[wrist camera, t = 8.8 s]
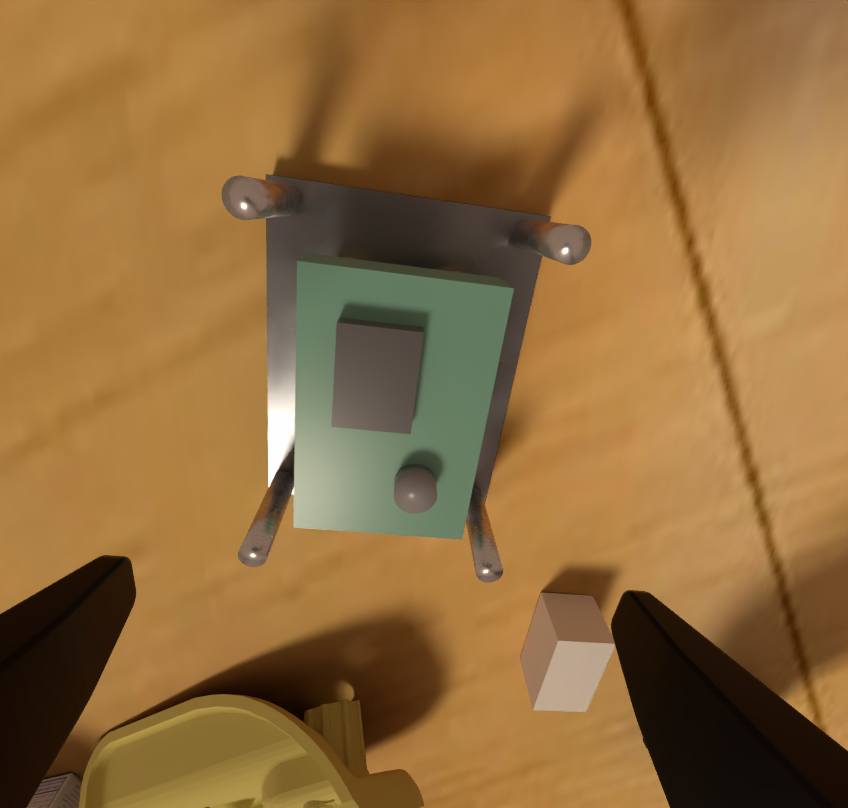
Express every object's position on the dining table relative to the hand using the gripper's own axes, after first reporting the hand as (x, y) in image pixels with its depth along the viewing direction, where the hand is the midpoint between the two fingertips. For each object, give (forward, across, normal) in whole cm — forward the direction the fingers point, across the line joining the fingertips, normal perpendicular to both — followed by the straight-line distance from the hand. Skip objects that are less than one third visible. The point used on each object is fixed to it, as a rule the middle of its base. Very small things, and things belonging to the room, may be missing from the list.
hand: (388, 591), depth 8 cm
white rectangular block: (+12, -11, +15) cm, 22 cm away
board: (+9, 0, 0) cm, 9 cm away
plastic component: (+12, +6, +26) cm, 30 cm away
